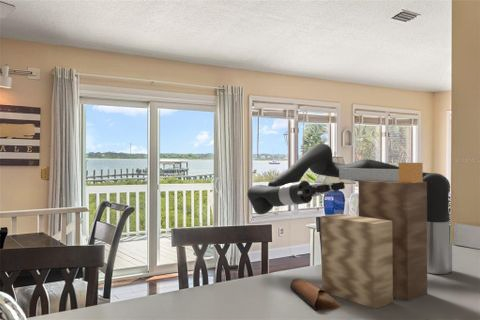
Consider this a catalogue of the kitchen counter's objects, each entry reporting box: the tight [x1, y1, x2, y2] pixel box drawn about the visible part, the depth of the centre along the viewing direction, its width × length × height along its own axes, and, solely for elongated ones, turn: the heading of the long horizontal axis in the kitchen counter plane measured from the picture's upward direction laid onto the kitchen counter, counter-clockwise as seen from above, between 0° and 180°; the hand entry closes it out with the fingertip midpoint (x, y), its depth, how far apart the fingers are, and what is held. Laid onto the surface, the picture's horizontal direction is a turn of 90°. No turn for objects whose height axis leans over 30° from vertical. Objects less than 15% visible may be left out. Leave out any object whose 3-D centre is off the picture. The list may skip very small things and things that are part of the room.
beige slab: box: [321, 213, 394, 309], centre depth 117 cm, size 18×8×22 cm, turn 37°
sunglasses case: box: [289, 278, 342, 312], centre depth 116 cm, size 18×7×7 cm
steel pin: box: [338, 162, 424, 183], centre depth 126 cm, size 26×6×6 cm, turn 37°
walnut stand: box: [358, 180, 428, 302], centre depth 122 cm, size 16×10×32 cm, turn 37°
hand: (336, 186), depth 128 cm, fingers open, 8 cm apart
